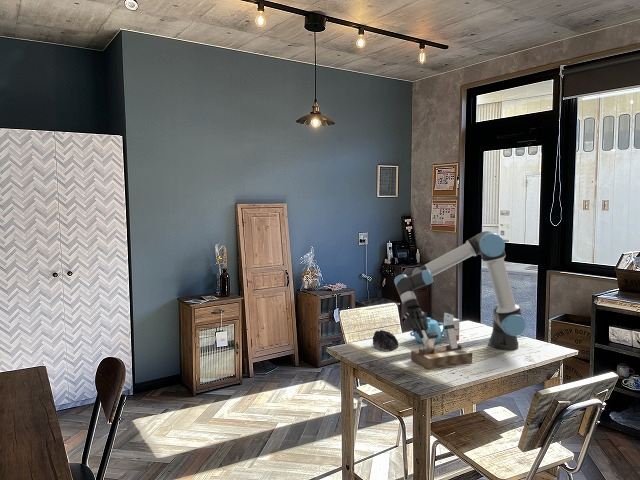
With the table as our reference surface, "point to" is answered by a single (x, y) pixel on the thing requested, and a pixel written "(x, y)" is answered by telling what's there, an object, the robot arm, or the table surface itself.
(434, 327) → the decorative pot
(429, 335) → the lever
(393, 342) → the black rock
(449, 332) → the lever
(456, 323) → the ink cartridge box
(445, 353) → the switch unit
